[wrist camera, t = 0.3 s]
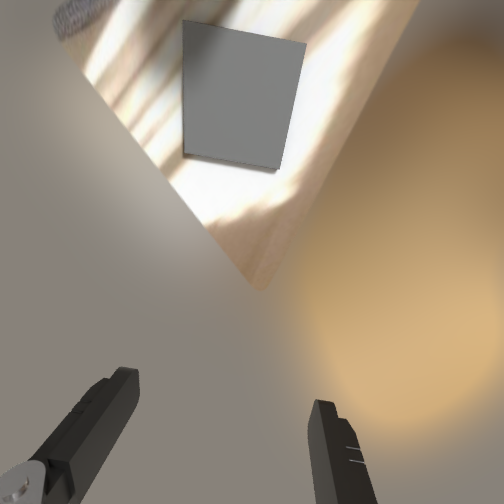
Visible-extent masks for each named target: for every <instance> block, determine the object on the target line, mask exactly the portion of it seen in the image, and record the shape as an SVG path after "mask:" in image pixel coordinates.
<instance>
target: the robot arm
mask: <svg viewBox="0 0 504 504" xmlns="http://www.w3.org/2000/svg"><path fill="white" fill-rule="evenodd" d="M139 396H140V387H139V372H138V369H133V368H127V367H119V368H118V369H117V370H116V371H115V372H114V374H113V375H112V376H111V378H110V379H108V378H103V379H102V380H100V381H99V382H97V383H96V384H95V385H93V386H92V387H91V388H90V389H89V390H88V391H87V392H86V393H85V395H84V396H83V397H82V398H81V400H80V402H78V403H77V404H76V405H75V406H74V408H73V409H72V411H71V412H69V414H68V415H67V416H66V417H65V418H64V420H63V421H62V422H61V423H60V425H58V427H57V428H56V429H55V430H54V431H53V433H52V434H51V435H50V436H49V437H48V438H47V440H46V441H45V442H44V443H43V445H42V446H41V447H40V448H39V449H38V450H37V451H36V453H35V454H34V455H33V456H32V457H31V458H30V459H29V460H28V461H26V462H23V463H20V464H18V465H16V466H14V467H12V468H11V469H10V470H8V471H7V472H5V473H4V474H3V475H1V476H0V504H80V503H81V501H82V499H83V498H84V496H85V494H86V492H87V491H88V489H89V487H90V486H91V484H92V482H93V480H94V479H95V477H96V475H97V474H98V472H99V470H100V468H101V467H102V465H103V463H104V462H105V460H106V458H107V456H108V455H109V453H110V451H111V450H112V448H113V446H114V444H115V443H116V441H117V439H118V437H119V436H120V434H121V432H122V430H123V429H124V427H125V425H126V424H127V422H128V420H129V419H130V417H131V415H132V413H133V412H134V410H135V408H136V406H137V403H138V400H139ZM308 444H309V451H310V459H311V467H312V475H313V483H314V490H315V497H316V504H378V503H377V500H376V497H375V494H374V491H373V487H372V484H371V481H370V478H369V475H368V472H367V468H366V465H365V464H364V459H363V456H362V453H361V451H360V446H359V443H358V440H357V436H356V433H355V431H354V430H353V429H352V427H351V425H350V424H349V422H348V421H347V420H346V419H343V418H338V415H337V411H336V407H335V404H334V403H333V402H330V401H323V400H317V399H316V400H315V401H314V405H313V409H312V412H311V415H310V419H309V423H308Z"/></svg>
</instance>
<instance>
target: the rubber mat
mask: <svg viewBox="0 0 504 504" xmlns="http://www.w3.org/2000/svg"><path fill="white" fill-rule="evenodd" d="M306 45H307V44H305V43H300V42H295V41H290V40H285V39H280V38H274V37H269V36H264V35H259V34H254V33H249V32H243V31H238V30H233V29H228V28H223V27H217V26H212V25H207V24H202V23H197V22H192V21H186V20H183V81H184V153H189V154H195V155H200V156H206V157H212V158H217V159H223V160H229V161H234V162H240V163H245V164H251V165H257V166H262V167H268V168H274V169H279V170H280V165H281V161H282V156H283V151H284V147H285V142H286V138H287V133H288V128H289V124H290V119H291V114H292V110H293V105H294V101H295V96H296V91H297V87H298V82H299V77H300V73H301V68H302V64H303V59H304V54H305V50H306Z"/></svg>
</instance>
